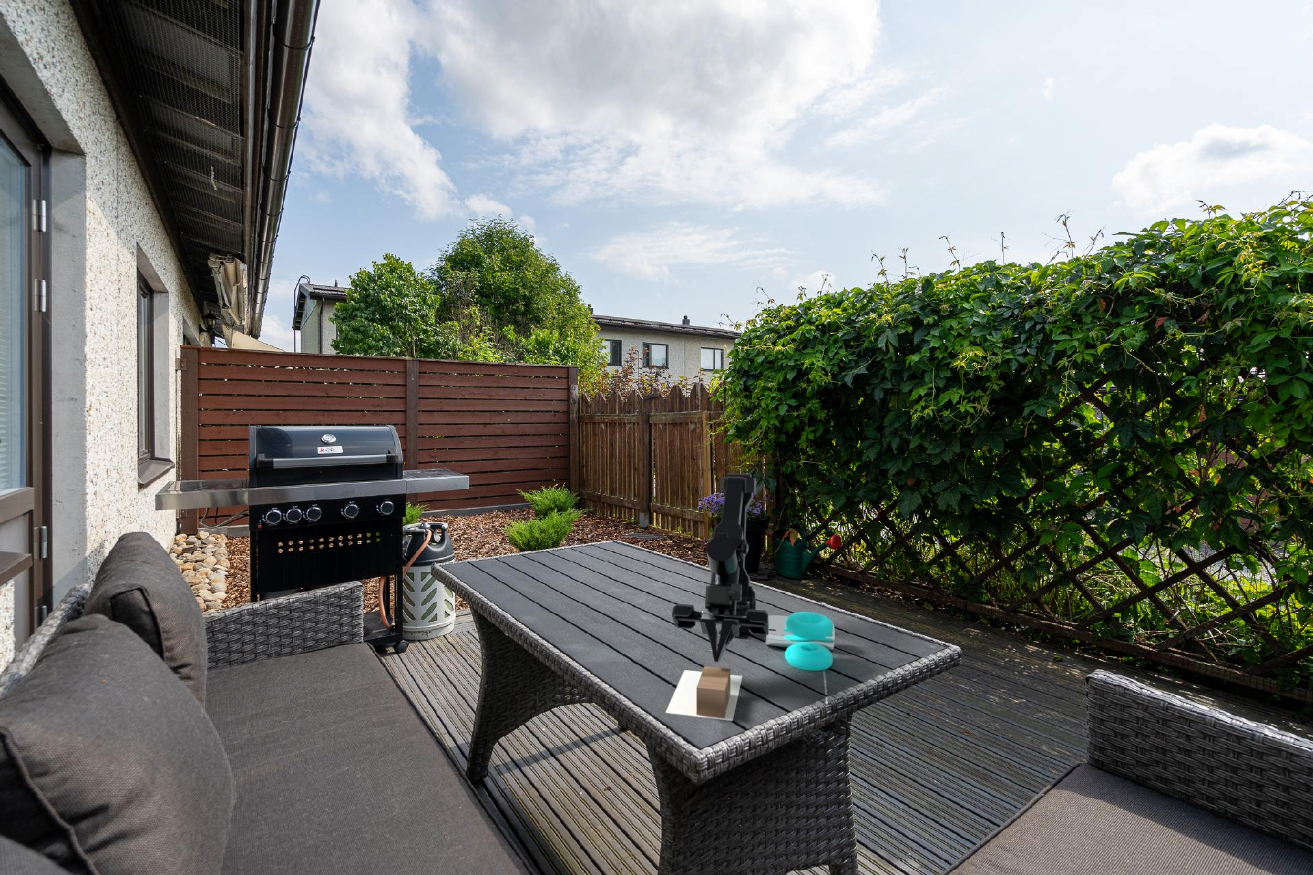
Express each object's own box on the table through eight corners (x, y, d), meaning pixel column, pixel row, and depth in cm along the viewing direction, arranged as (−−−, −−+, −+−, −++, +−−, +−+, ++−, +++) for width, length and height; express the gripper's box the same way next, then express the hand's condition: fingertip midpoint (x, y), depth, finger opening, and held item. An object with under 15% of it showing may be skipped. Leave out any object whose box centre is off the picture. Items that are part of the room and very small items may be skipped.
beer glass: (830, 648, 141) (765, 642, 143) (831, 618, 142) (766, 612, 144) (834, 654, 134) (765, 647, 136) (835, 622, 135) (767, 616, 137)
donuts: (792, 626, 124) (780, 610, 134) (792, 674, 125) (779, 654, 135) (840, 625, 125) (824, 609, 135) (839, 673, 125) (823, 653, 135)
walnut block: (704, 666, 116) (696, 687, 107) (730, 668, 115) (724, 690, 106) (704, 691, 116) (696, 714, 107) (730, 694, 115) (724, 718, 106)
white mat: (684, 672, 126) (684, 670, 126) (742, 678, 123) (742, 675, 123) (665, 715, 108) (665, 712, 108) (732, 723, 105) (732, 720, 105)
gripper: (673, 564, 121) (661, 638, 111) (768, 569, 116) (764, 648, 106) (681, 591, 129) (670, 663, 119) (770, 597, 124) (766, 672, 114)
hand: (716, 661), depth 114 cm, fingers closed
